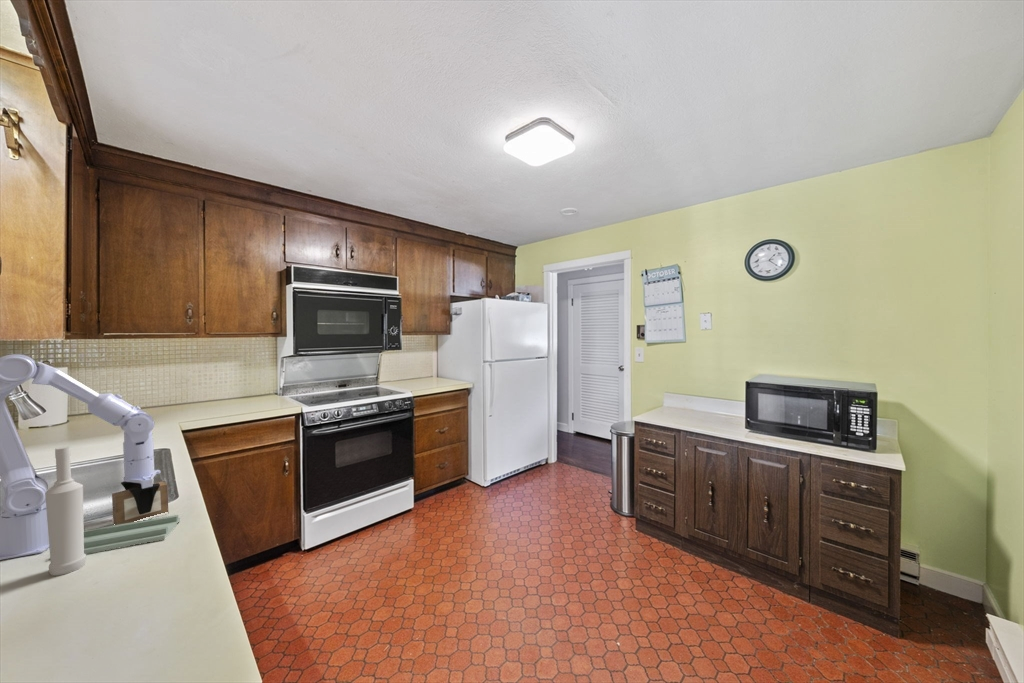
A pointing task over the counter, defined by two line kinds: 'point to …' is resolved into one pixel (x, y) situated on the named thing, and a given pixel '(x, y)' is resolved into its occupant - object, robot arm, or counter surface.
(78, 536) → the bottle
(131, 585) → the counter surface
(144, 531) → the picture ledge
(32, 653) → the counter surface
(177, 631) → the counter surface
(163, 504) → the picture frame
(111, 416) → the robot arm
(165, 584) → the counter surface
